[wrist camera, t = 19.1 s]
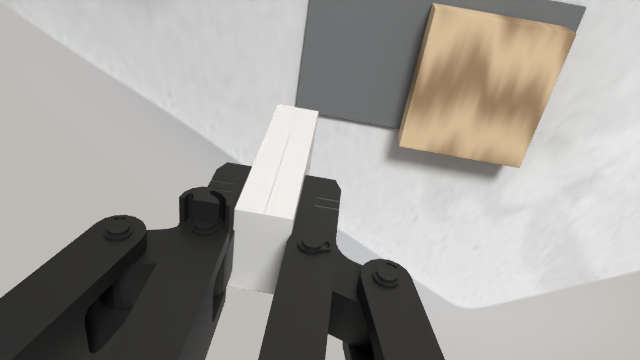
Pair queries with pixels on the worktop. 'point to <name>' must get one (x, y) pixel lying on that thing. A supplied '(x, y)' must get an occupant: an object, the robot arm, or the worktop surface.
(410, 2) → the rubber mat
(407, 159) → the worktop surface
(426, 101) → the oak board
